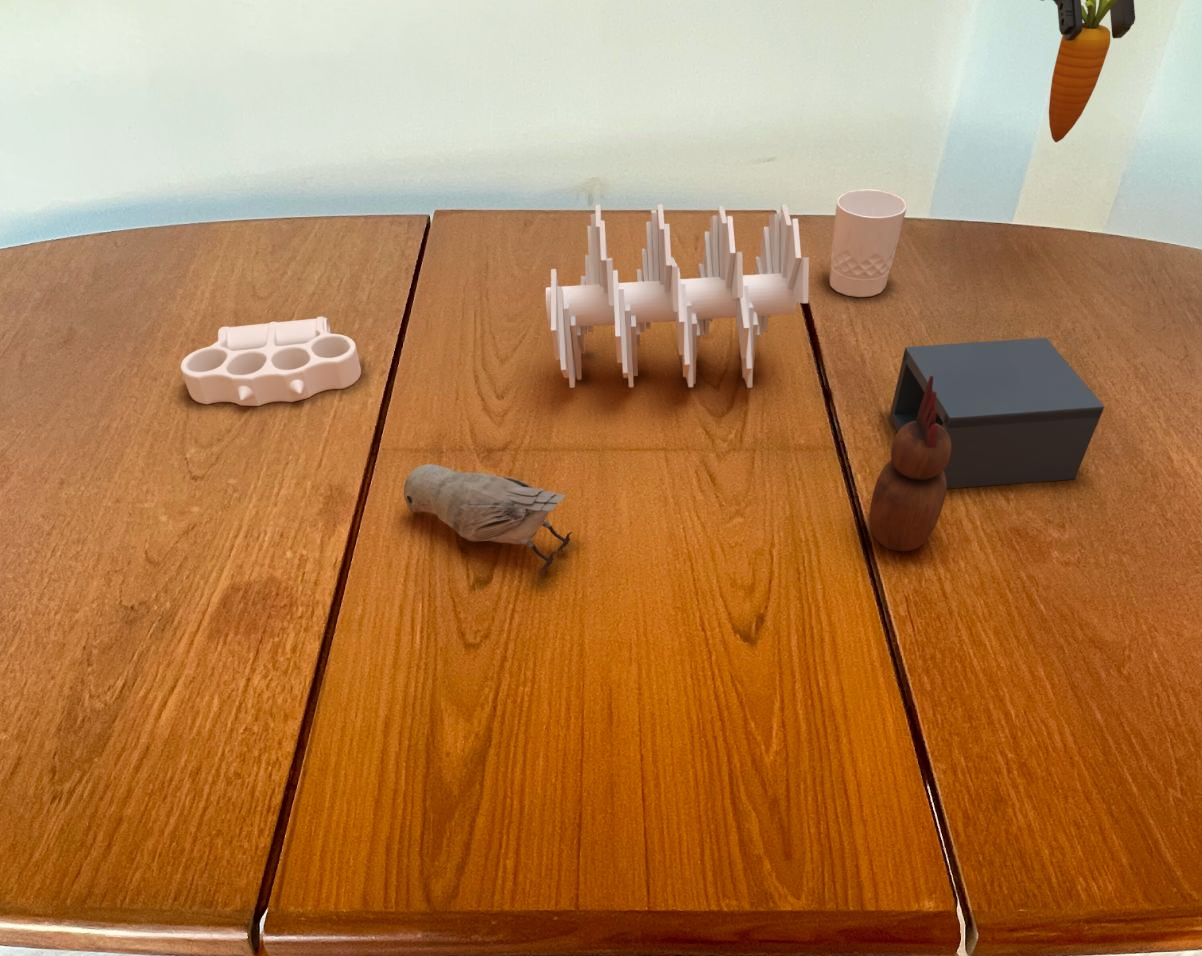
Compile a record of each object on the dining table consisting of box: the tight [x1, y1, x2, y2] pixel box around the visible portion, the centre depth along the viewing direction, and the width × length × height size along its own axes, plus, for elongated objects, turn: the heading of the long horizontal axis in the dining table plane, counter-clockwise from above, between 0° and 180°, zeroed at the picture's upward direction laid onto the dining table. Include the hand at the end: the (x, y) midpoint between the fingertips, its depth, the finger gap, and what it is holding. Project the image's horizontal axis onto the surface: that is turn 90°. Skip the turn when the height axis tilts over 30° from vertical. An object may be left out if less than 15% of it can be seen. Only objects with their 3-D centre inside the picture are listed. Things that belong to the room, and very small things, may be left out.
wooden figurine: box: [869, 376, 951, 552], centre depth 81 cm, size 7×6×15 cm
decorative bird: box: [403, 463, 574, 577], centre depth 84 cm, size 5×16×7 cm, turn 62°
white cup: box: [828, 188, 908, 298], centre depth 116 cm, size 8×8×10 cm
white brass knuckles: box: [180, 316, 362, 407], centre depth 105 cm, size 3×18×15 cm
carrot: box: [1048, 0, 1118, 143], centre depth 102 cm, size 5×5×15 cm
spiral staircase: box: [545, 203, 810, 389], centre depth 99 cm, size 18×18×25 cm
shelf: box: [888, 337, 1105, 490], centre depth 92 cm, size 14×12×8 cm
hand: (1098, 34), depth 98 cm, fingers closed on carrot, 4 cm apart
